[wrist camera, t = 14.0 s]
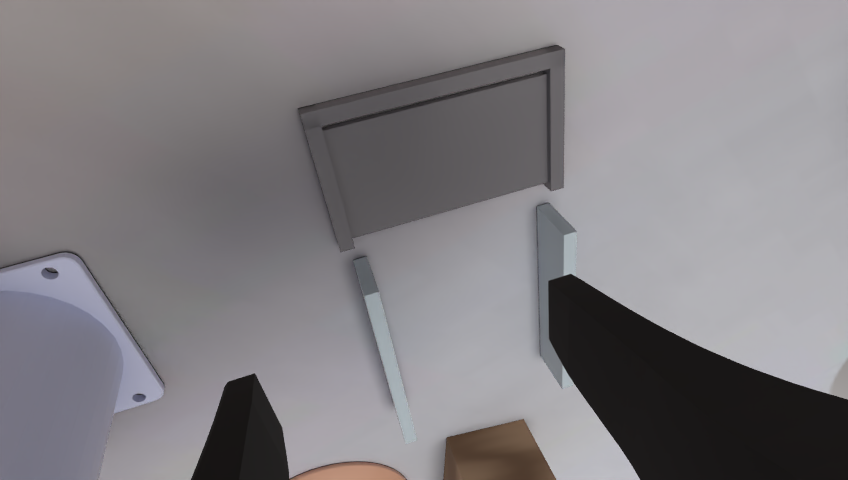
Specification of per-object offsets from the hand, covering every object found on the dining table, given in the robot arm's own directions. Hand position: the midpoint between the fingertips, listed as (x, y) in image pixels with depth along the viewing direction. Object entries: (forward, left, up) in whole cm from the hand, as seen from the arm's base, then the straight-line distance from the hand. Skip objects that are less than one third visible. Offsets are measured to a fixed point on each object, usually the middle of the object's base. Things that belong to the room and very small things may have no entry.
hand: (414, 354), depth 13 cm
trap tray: (+4, 0, -10) cm, 11 cm away
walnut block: (+4, -21, -10) cm, 24 cm away
